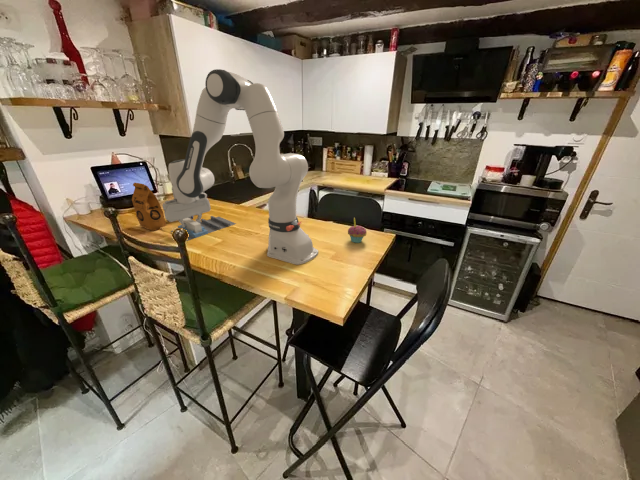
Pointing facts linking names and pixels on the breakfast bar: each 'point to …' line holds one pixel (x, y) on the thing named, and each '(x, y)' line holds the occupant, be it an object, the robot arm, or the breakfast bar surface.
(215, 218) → the duct board
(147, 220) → the coffee package
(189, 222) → the light grey block
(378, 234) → the breakfast bar surface
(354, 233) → the cupcake
